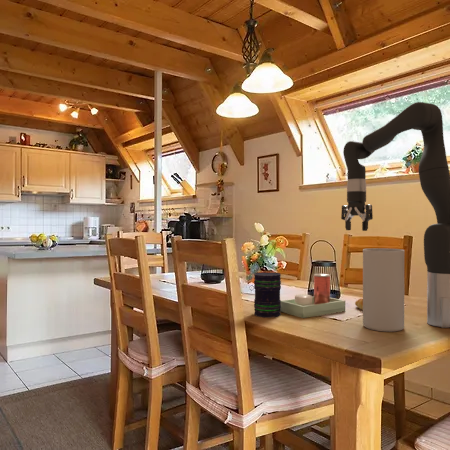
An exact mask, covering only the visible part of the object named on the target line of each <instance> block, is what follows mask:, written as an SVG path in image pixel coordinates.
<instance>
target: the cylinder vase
mask: <svg viewBox="0 0 450 450" xmlns="http://www.w3.org/2000/svg"><path fill="white" fill-rule="evenodd" d="M362 299H363V310H362V324H363V326H364V327H365V328H367V329H368V330H372V331H376V332H377V331H378V332H385V333H386V332H387V333H389V332H390V333H391V332H392V333H393V332H400V331H402V330H403V329H404V328H405V249H400V248H384V247H383V248H381V247H380V248H379V247H377V248H363V249H362Z"/></svg>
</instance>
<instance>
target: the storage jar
mask: <svg viewBox="0 0 450 450" xmlns="http://www.w3.org/2000/svg"><path fill="white" fill-rule="evenodd" d="M281 276H282V275H281V273H280V272H275V271H274V272H270V271H267V272H266V271H262V272H254V275H253V284H254V287H253V288H254V300H253V301H254V302H253V303H254V304H253V309H254V313H253V314H254V316H255V317H258V318H259V317H260V318H278V317H281V314H282V312H280V311H281V309H280V308H281V301H282V300H281V289H282V288H281V284H282V280H281V279H282V278H281Z"/></svg>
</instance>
